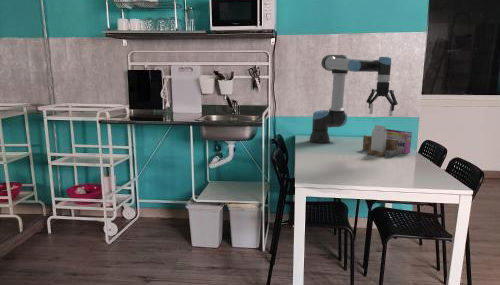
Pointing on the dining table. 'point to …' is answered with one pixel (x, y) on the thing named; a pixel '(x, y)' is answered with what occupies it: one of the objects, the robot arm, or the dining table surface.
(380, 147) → the milk carton
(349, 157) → the dining table surface
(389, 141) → the walnut shelf
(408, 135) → the gum box
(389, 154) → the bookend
